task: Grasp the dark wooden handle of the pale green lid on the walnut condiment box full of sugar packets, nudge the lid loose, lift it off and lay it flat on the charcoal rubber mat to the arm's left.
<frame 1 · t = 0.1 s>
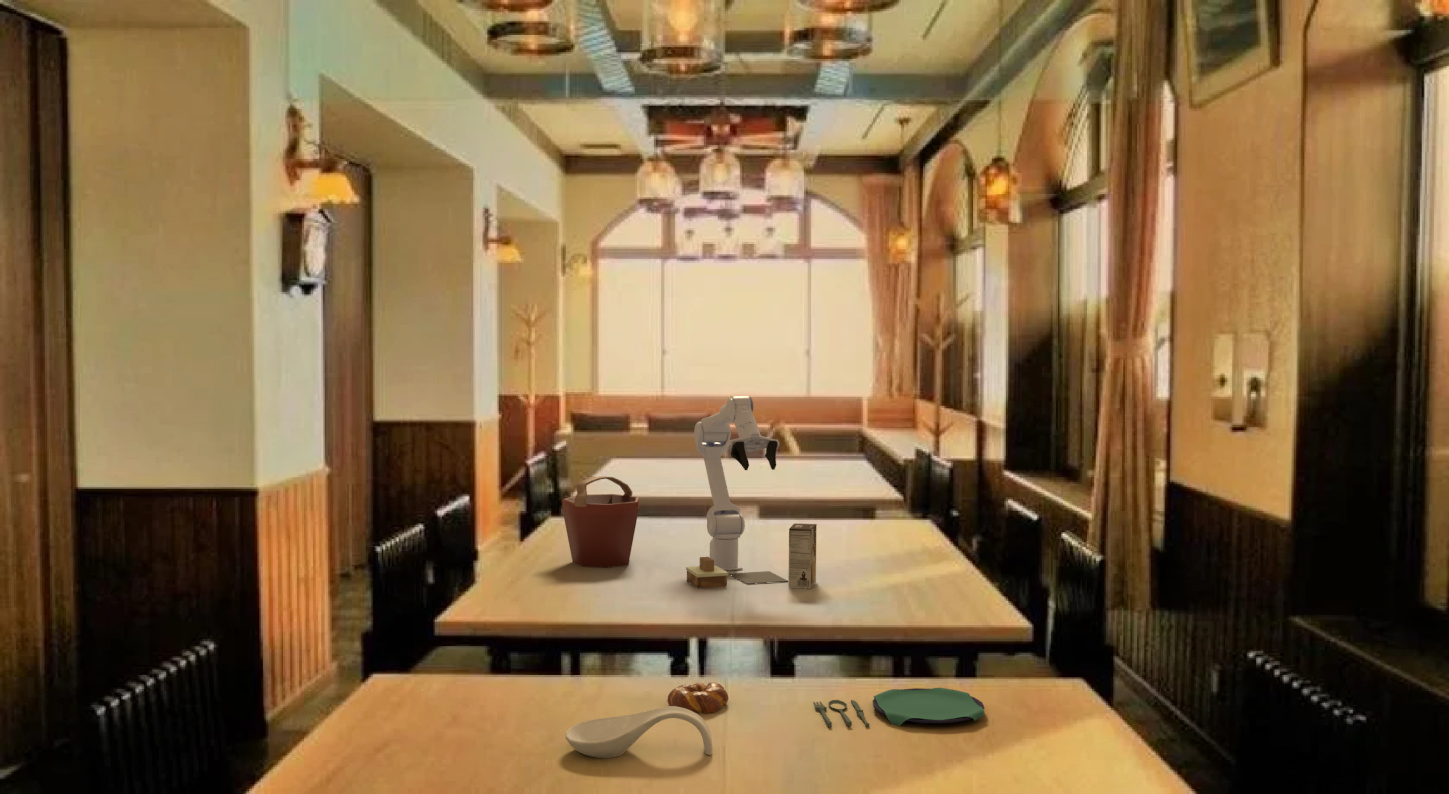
hand: (760, 467, 322), 32 cm above the table, tool tilted 50°, fingers open, 7 cm apart
box: (706, 583, 328), on the table
coffee box: (802, 586, 327), on the table
lid: (706, 572, 328), point 3 cm above the table, touching box
mat: (758, 578, 336), on the table
spoon rest: (639, 753, 197), on the table
bucket: (600, 562, 357), on the table
cutlery set: (899, 716, 219), on the table
pretzel: (698, 707, 222), on the table
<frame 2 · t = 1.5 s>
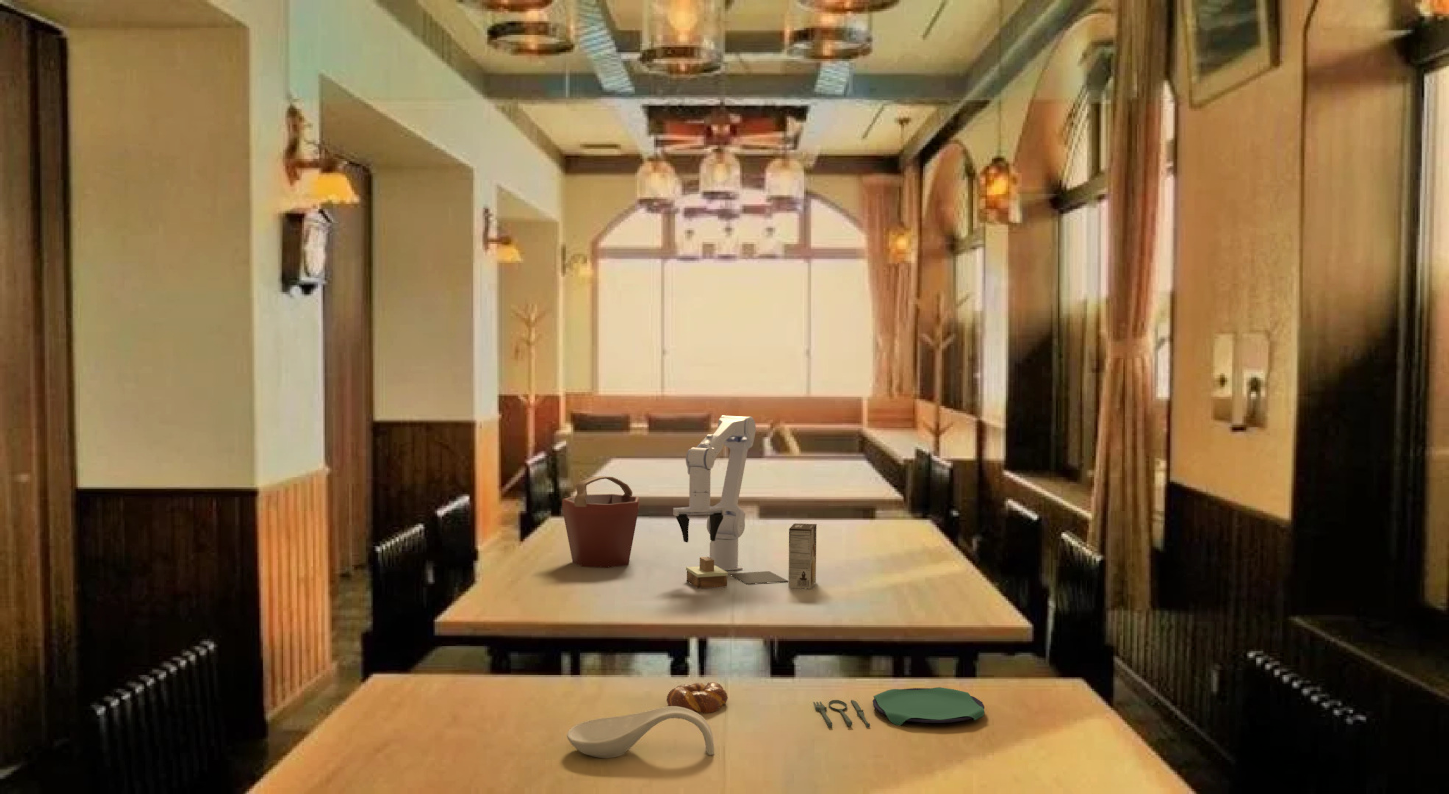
hand: (699, 541, 333), 10 cm above the table, tool pointing down, fingers open, 7 cm apart
nothing on the table moved.
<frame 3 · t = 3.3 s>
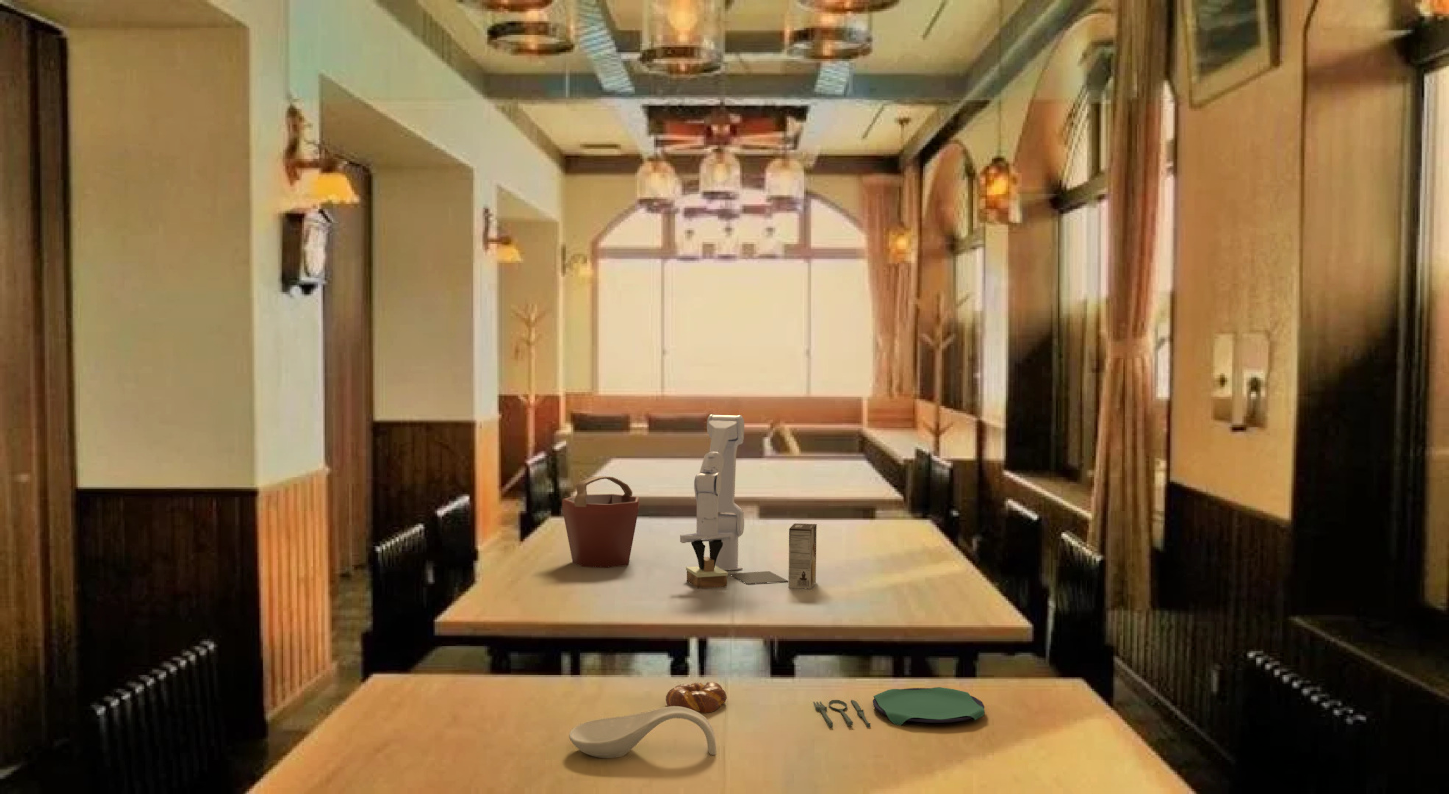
hand: (706, 568, 327), 4 cm above the table, tool pointing down, fingers closed on lid, 2 cm apart
lid: (706, 572, 328), point 3 cm above the table, touching box, gripper
everything else where it was.
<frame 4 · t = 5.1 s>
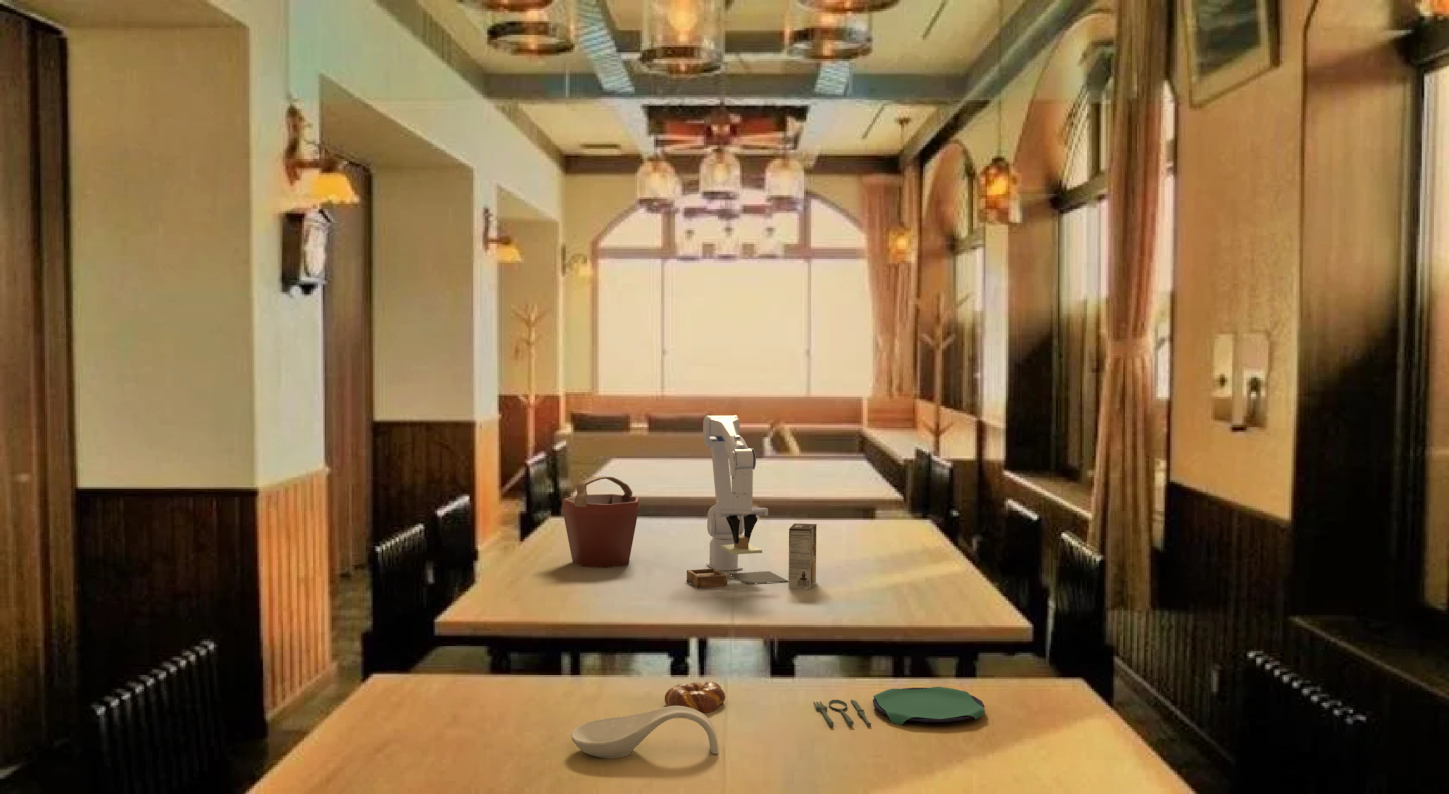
hand: (741, 542, 332), 10 cm above the table, tool pointing down, fingers closed on lid, 2 cm apart
lid: (741, 550, 332), point 8 cm above the table, touching gripper
everything else where it was.
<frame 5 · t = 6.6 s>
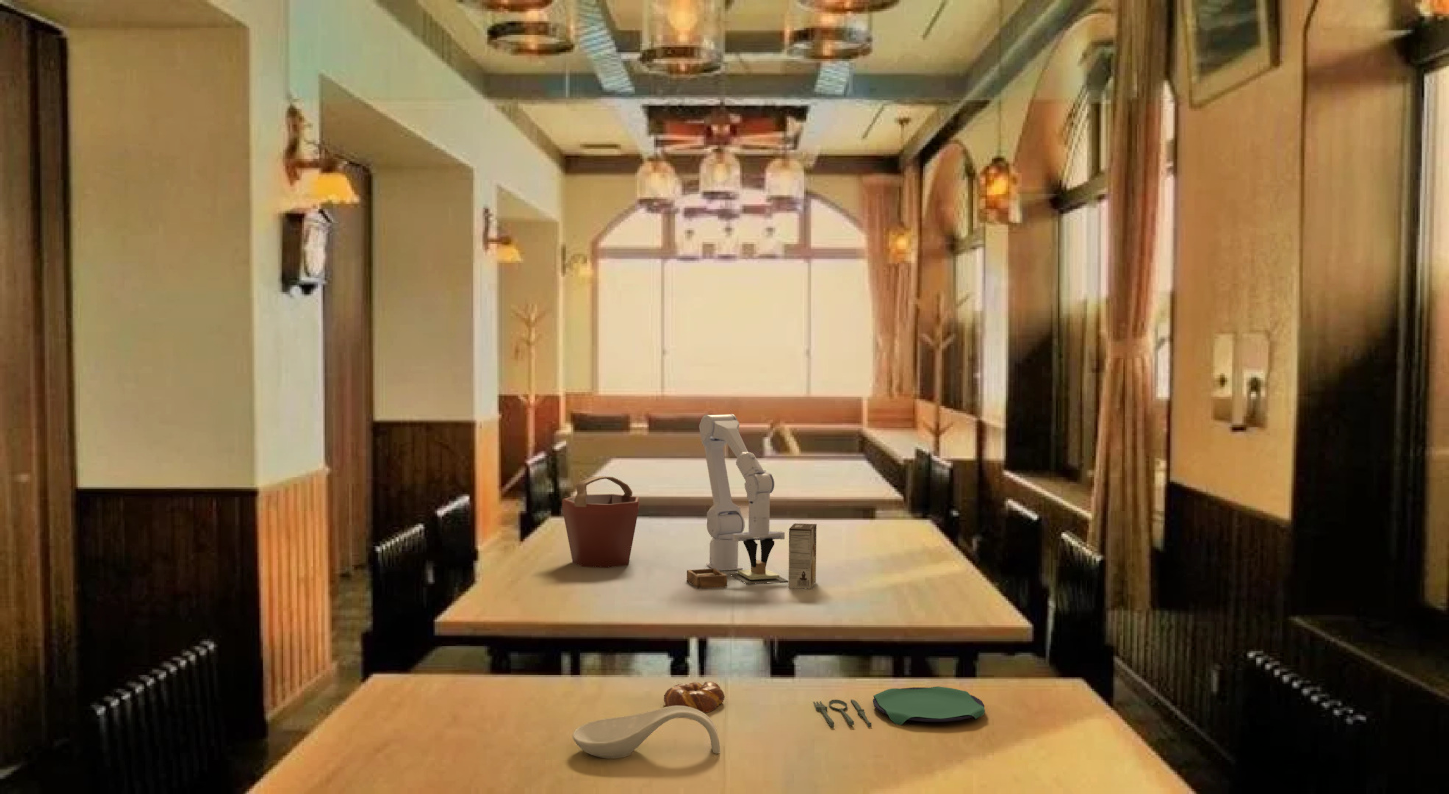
hand: (758, 566, 336), 3 cm above the table, tool pointing down, fingers closed on lid, 2 cm apart
lid: (758, 575, 336), point 1 cm above the table, touching gripper
when the fingers open (3 cm above the table, at t = 7.0 s): lid stays where it is, resting on mat.
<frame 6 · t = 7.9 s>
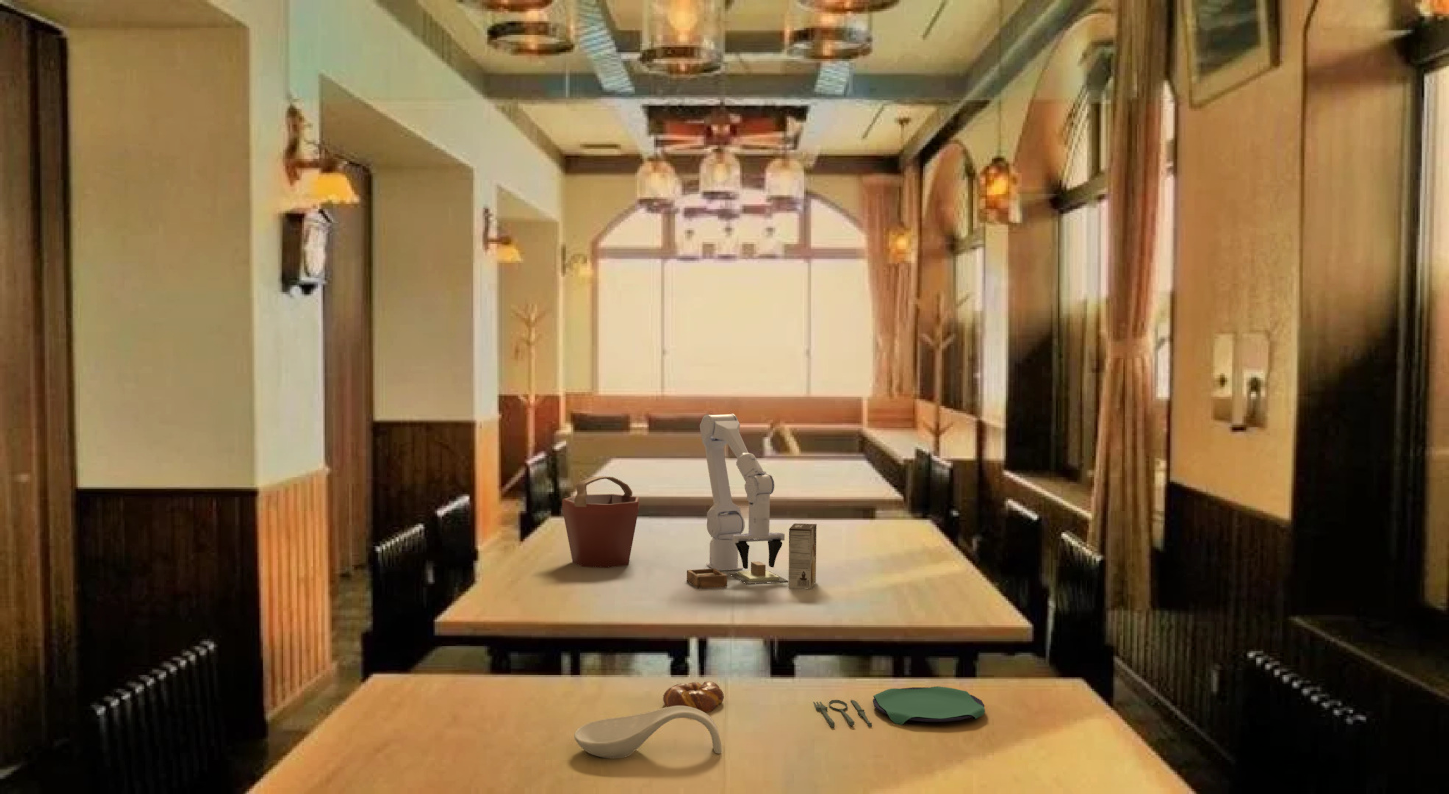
hand: (758, 567, 336), 3 cm above the table, tool pointing down, fingers open, 7 cm apart
lid: (758, 577, 336), resting on mat
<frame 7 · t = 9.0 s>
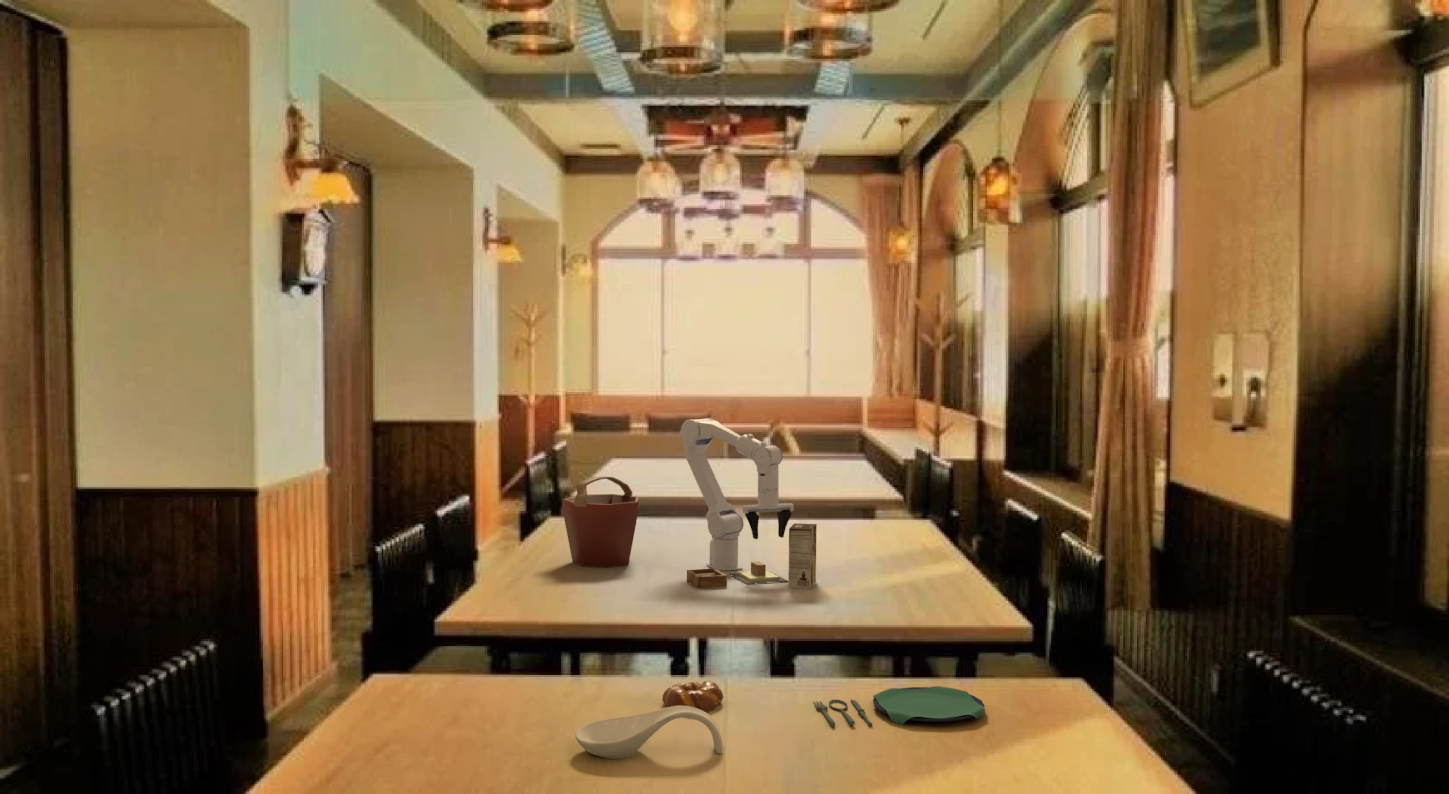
hand: (768, 537, 340), 10 cm above the table, tool pointing down, fingers open, 7 cm apart
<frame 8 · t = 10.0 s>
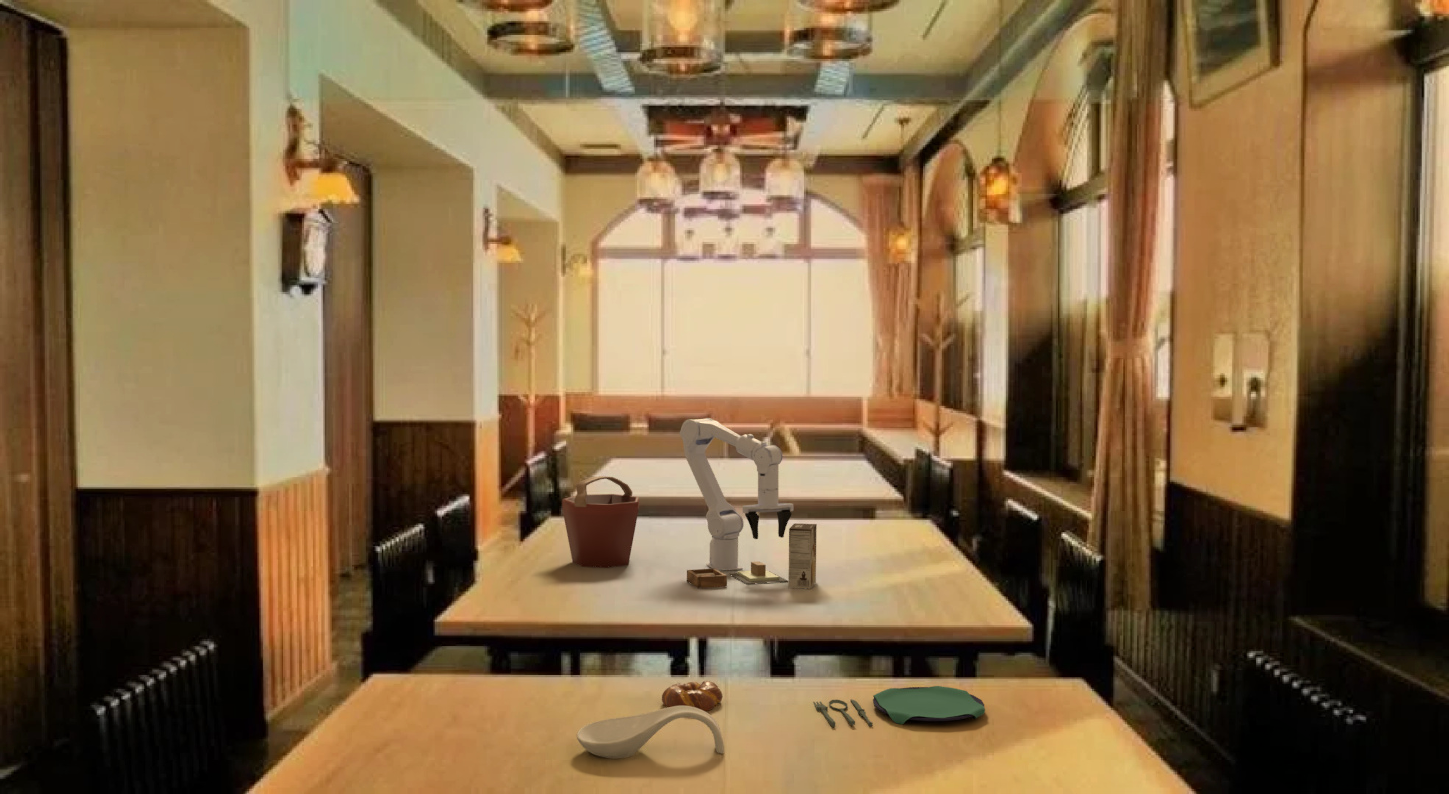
hand: (768, 537, 340), 10 cm above the table, tool pointing down, fingers open, 7 cm apart
at the end: lid inside the target area (0.2 cm from its centre), resting on mat; lid tilted 0°; lid touching mat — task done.
